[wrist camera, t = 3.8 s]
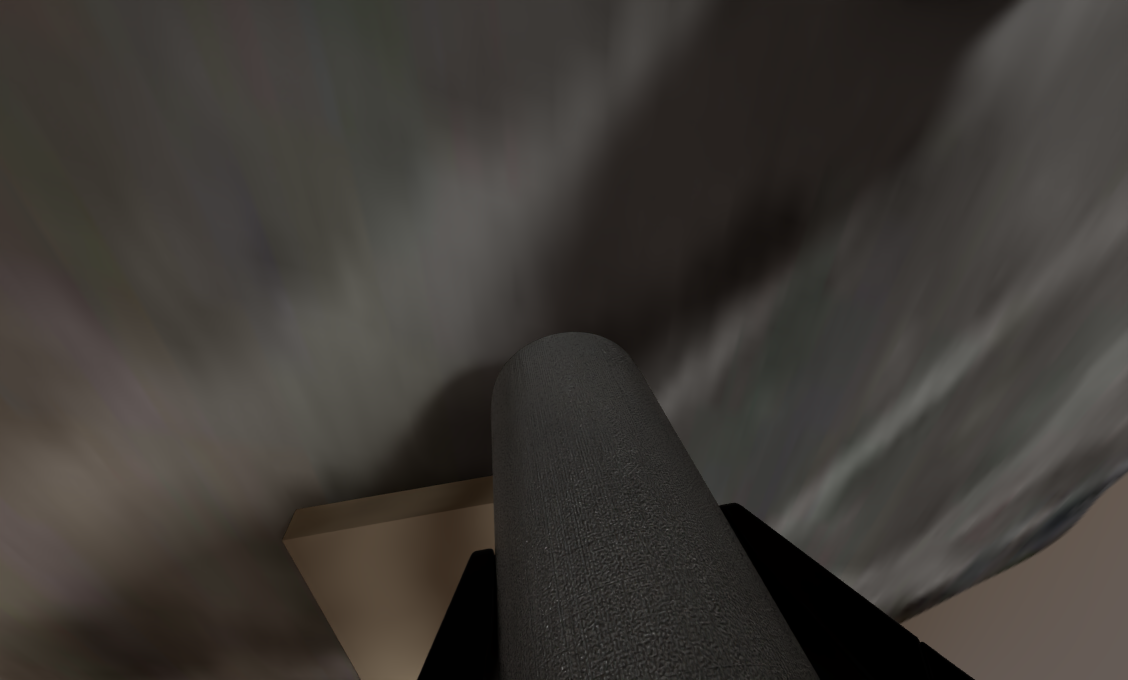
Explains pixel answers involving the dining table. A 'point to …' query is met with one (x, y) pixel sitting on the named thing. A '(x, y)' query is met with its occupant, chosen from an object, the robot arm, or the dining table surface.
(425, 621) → the oak block
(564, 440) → the grey hollow cylinder
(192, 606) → the dining table surface
